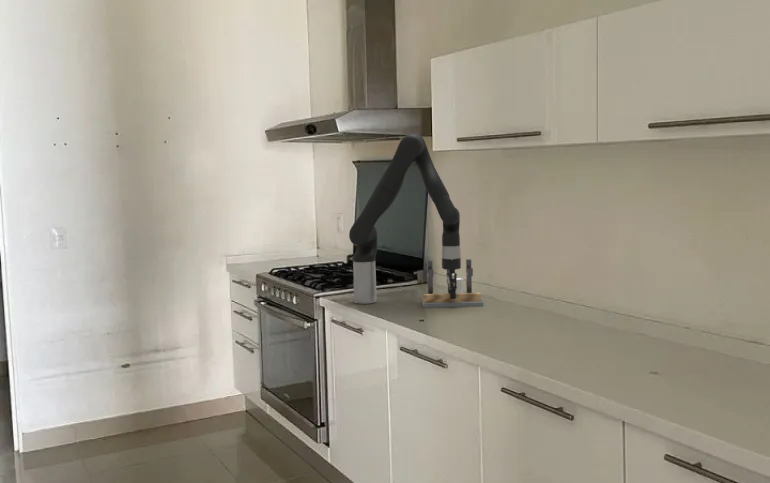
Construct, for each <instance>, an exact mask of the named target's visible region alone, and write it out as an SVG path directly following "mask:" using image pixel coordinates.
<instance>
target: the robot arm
mask: <svg viewBox="0 0 770 483" xmlns="http://www.w3.org/2000/svg"><path fill="white" fill-rule="evenodd" d="M413 162H414V163H415V164H416V166H417V168H418V170H419V172H420V175H421V178H422V181H423V183H424V186H425V189H426V191H427V193H428V195H429V197H430V199H431V201H432V202H433V204H434V206H435V208H436V211H437V213H438V215H439V217H440V220H441V221H442V235H441V245H442V246H441V269H443V270H446V273H445V275H446V284H447V285H446V286H447V293H450V299H456V288H457V287H456V284H457V278H458V274H457V272H456V270H460V269H461V268H462V266H461V265H462V258H461V252H462V251H461V242H460V241H461V238H460V225H461V224H460V223H461V222H460V220H461V215H460V211H459V209H458V208H457V207H455V205H454V203H453V201H452V199H451V198H450V194H449V192H448V190H447V187H446V186H445V184H444V183H443V181H442V179H441V176H440V175H439V173H438V172H437V169H436V167H435V165H434V162H433V160H432V157H431V155H430V153H429V150H428V146H427V144H426V141H425V138H423V136H422V135H420V134H418V133H412V134H411V133H410V134H407V135H405V136H403V137H402V138H401V140H400V141H399V143H398V146H397V148H396V151H395V152H394V155H393V157H392V160H391V161H390V163H389V165H388V166H387V168H386V169H385V171H384V172H383V174H382V176H381V177H380V179H379V181H378V182H377V184H376V185H375V187H374V190H373V191H372V192H371V195H370V197H369V199H368V200H367V202H366V204H365V207H364V208H363V209H362V212H361V213H360V215H359V216H358V217H357V219H356V220H355V222H354V223H353V224H352V226H351V228H350V229H349V232H348V233H349V235H348V236H349V240H350V242H351V244H353V245H354V246H356V250H355V252H354V253H353V256H352V266H353V270H352V271H353V303H354V304H362V305H364V304H365V305H366V304H373V303H377V275H376V274H377V273H376V271H377V268H376V257H377V256H376V255H377V254H378V253H377V252H378V233H377V228H376V227H375V225H376V223H377V221H378V220H379V219H380V218H381V217H382V215H384V214H385V213H386V211H387V210H388V209H389V208H390V207H391V205H393V203H394V202H395V200H396V198H397V197H398V195H399V193H400V191H401V189H402V186H403V183H404V180H405V176H406V173H407V171H408V170H409V169H410V167H411V165H412V163H413Z"/></svg>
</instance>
